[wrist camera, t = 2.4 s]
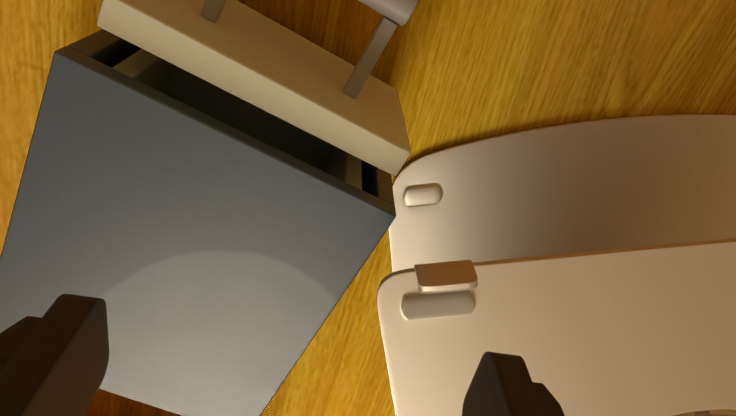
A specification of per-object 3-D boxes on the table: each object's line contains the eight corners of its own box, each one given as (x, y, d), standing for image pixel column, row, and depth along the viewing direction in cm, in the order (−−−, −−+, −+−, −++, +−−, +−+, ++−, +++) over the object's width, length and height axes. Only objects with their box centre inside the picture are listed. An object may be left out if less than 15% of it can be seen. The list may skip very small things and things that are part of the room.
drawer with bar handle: (217, -144, 21) (151, -170, 14) (450, 2, 24) (486, 38, 17) (97, 199, 29) (17, 288, 22) (284, 278, 32) (264, 378, 25)
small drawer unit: (156, 3, 25) (53, 50, 16) (385, 125, 28) (397, 216, 20) (78, 230, 31) (-25, 349, 22) (272, 308, 34) (245, 437, 26)
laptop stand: (398, 421, 40) (419, 680, 26) (366, 136, 28) (376, 341, 15) (735, 393, 39) (934, 646, 26) (849, 86, 27) (1327, 257, 14)
